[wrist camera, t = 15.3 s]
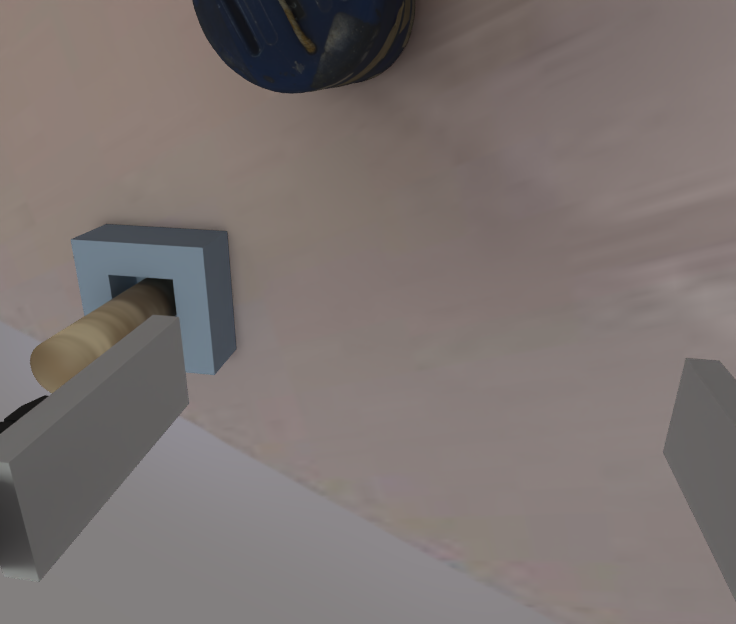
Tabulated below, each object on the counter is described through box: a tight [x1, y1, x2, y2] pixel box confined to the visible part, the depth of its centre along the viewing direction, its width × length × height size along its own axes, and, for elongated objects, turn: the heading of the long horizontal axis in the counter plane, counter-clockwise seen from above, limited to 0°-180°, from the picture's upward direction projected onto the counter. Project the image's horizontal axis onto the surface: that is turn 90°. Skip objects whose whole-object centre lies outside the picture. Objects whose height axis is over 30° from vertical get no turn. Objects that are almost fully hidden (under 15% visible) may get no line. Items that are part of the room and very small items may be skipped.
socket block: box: [71, 224, 236, 375], centre depth 51 cm, size 11×11×5 cm
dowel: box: [30, 278, 177, 393], centre depth 45 cm, size 4×4×15 cm
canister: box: [193, 0, 415, 93], centre depth 34 cm, size 10×10×18 cm
